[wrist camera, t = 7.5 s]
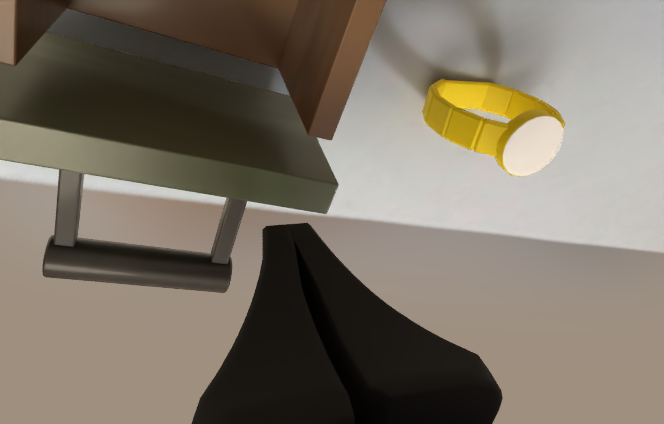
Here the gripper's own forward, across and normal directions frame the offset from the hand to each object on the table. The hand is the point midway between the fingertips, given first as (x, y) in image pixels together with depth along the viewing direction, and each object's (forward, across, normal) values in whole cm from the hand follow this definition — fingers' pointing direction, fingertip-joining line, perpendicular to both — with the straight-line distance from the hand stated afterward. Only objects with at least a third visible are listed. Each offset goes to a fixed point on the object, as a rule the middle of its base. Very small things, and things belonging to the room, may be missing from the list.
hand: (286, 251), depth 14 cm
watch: (+10, -10, -1) cm, 15 cm away
